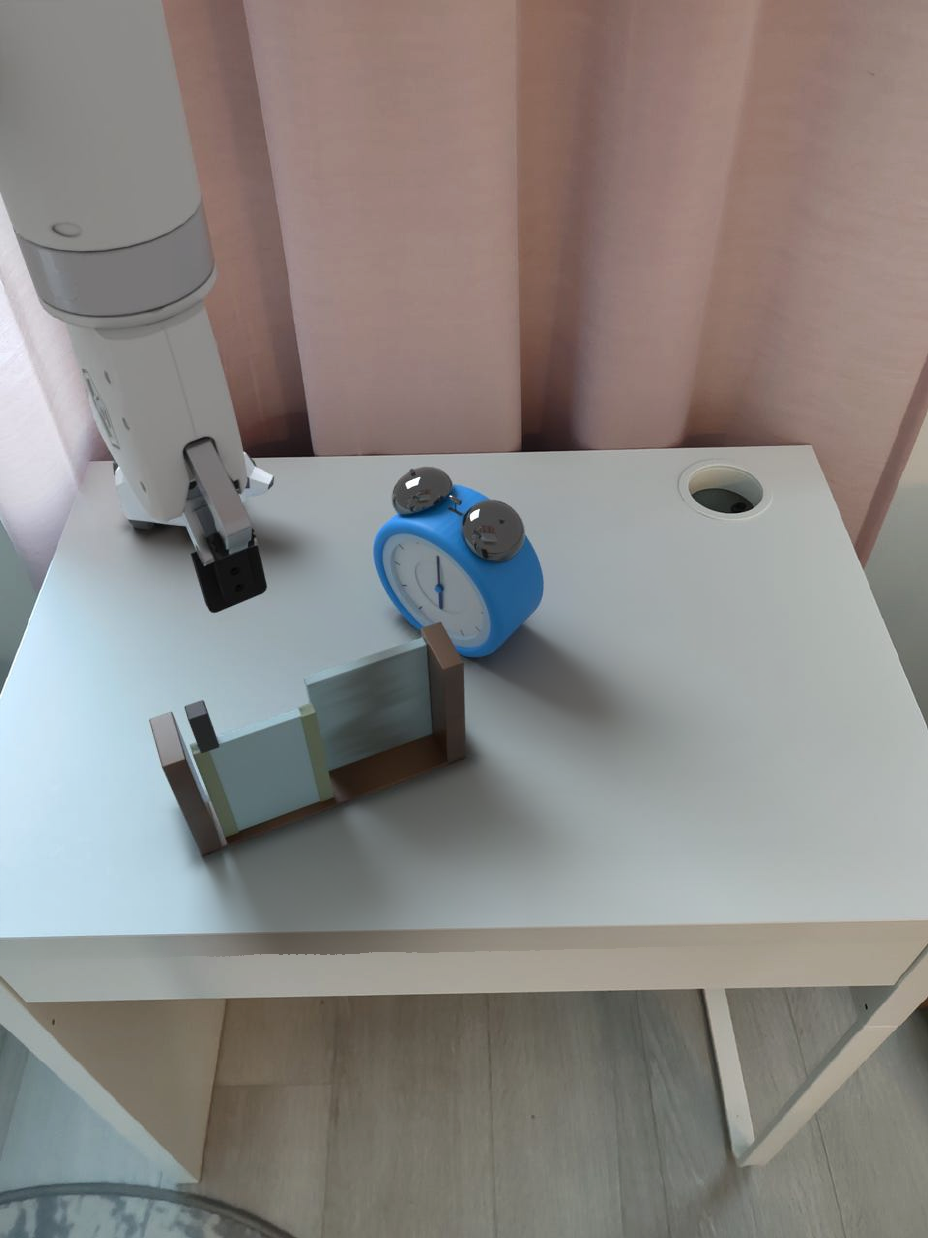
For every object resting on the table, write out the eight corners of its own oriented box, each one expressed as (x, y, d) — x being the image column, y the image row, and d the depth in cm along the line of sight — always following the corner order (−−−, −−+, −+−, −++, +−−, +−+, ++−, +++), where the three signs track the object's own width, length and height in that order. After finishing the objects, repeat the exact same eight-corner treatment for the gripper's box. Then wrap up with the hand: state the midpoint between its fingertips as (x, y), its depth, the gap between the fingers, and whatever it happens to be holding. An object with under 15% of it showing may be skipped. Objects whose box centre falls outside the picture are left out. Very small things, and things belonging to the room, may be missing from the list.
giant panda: (122, 538, 92) (92, 457, 84) (145, 498, 95) (118, 417, 88) (275, 557, 90) (257, 476, 83) (293, 516, 93) (277, 434, 86)
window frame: (205, 865, 70) (161, 767, 60) (192, 819, 72) (148, 718, 63) (466, 766, 75) (464, 662, 65) (445, 726, 77) (440, 620, 68)
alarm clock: (377, 612, 85) (361, 478, 74) (423, 571, 88) (415, 436, 77) (498, 687, 80) (501, 555, 68) (543, 640, 83) (553, 507, 72)
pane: (225, 839, 69) (179, 723, 59) (221, 825, 70) (175, 708, 60) (334, 799, 71) (309, 679, 61) (329, 786, 72) (303, 665, 62)
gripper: (-23, 190, 45) (86, 479, 58) (96, 381, 35) (196, 678, 48) (137, 151, 48) (207, 436, 61) (289, 320, 38) (335, 617, 51)
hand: (202, 543), depth 54 cm, fingers open, 9 cm apart
